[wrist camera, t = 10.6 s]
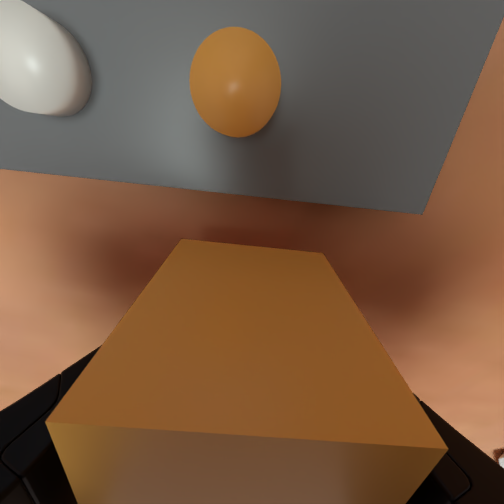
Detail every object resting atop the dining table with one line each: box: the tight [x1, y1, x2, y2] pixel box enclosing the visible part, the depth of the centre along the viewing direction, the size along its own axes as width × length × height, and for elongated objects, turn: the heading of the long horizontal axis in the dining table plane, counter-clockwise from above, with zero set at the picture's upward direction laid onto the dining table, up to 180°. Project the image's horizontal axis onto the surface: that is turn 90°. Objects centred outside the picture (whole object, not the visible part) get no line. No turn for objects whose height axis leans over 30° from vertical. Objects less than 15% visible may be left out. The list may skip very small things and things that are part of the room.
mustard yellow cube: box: [45, 239, 448, 504], centre depth 7 cm, size 5×5×6 cm
